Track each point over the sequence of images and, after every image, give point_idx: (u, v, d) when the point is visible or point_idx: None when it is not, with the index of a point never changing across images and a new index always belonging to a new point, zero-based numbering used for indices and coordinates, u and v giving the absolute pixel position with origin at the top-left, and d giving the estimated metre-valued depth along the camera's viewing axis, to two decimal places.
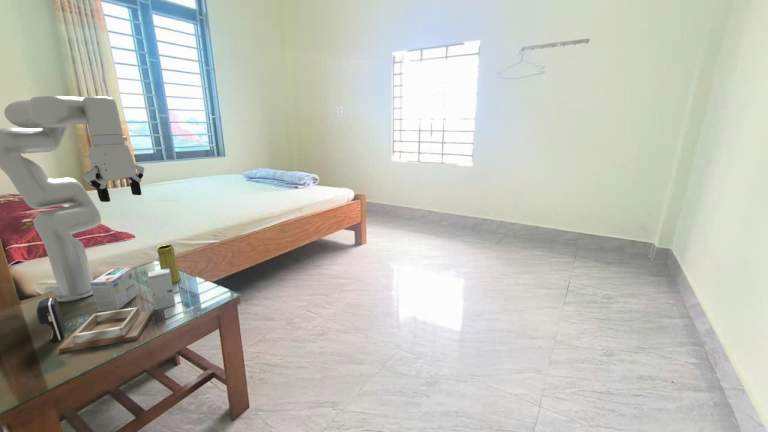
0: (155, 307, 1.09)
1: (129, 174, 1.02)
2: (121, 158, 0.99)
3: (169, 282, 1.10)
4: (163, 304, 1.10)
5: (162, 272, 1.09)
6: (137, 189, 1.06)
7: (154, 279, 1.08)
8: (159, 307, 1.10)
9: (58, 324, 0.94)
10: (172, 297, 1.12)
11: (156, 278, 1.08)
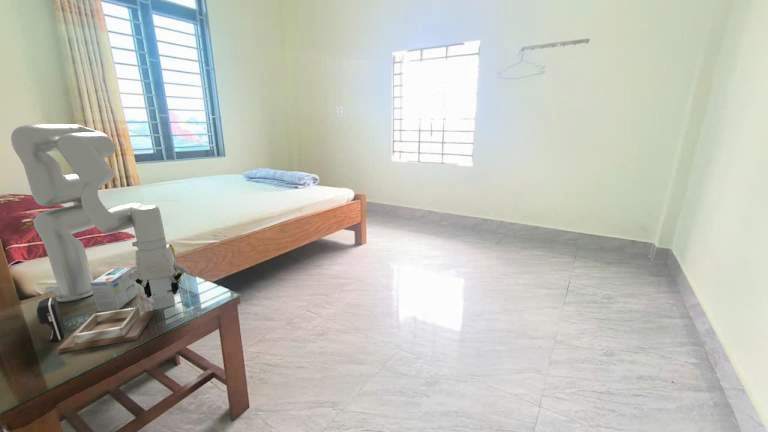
0: (155, 307, 1.09)
1: None
2: None
3: (169, 282, 1.10)
4: (163, 304, 1.10)
5: None
6: None
7: (154, 279, 1.08)
8: (159, 307, 1.10)
9: (58, 324, 0.94)
10: (172, 297, 1.12)
11: None
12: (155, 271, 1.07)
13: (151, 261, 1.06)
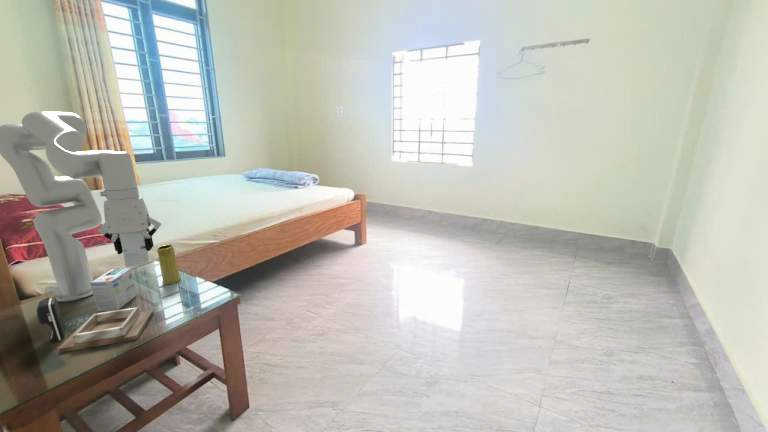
0: (127, 264, 1.01)
1: None
2: None
3: (142, 237, 1.01)
4: (135, 262, 1.02)
5: None
6: None
7: (126, 233, 0.99)
8: (131, 264, 1.01)
9: (58, 324, 0.94)
10: (146, 254, 1.03)
11: None
12: (126, 224, 0.98)
13: (122, 213, 0.97)
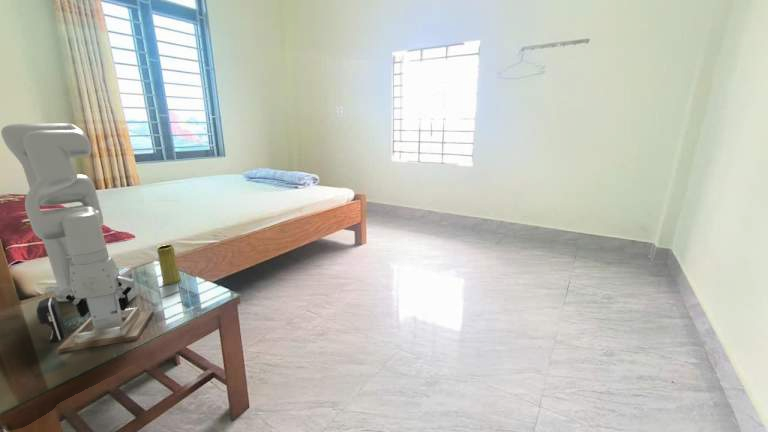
0: None
1: None
2: None
3: (113, 302, 0.96)
4: (106, 328, 0.96)
5: None
6: (87, 306, 0.96)
7: (95, 299, 0.93)
8: None
9: (58, 324, 0.94)
10: (117, 319, 0.97)
11: (96, 298, 0.94)
12: (94, 288, 0.92)
13: (89, 277, 0.91)
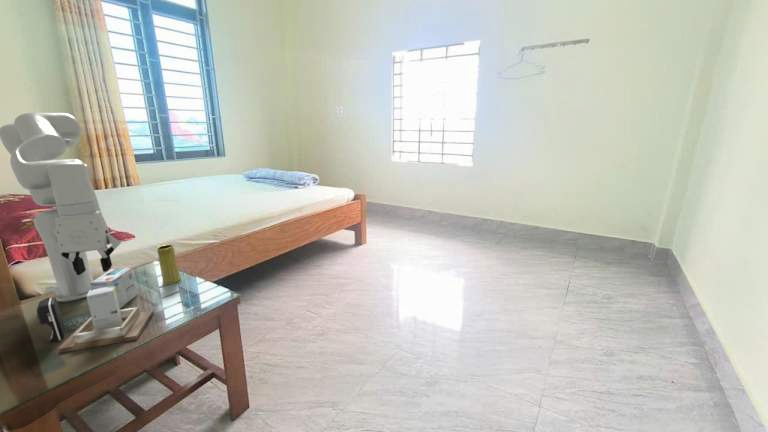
0: None
1: None
2: None
3: (113, 302, 0.96)
4: (106, 328, 0.96)
5: (104, 291, 0.95)
6: (83, 265, 0.93)
7: (95, 299, 0.93)
8: None
9: (58, 324, 0.94)
10: (117, 319, 0.97)
11: (96, 298, 0.94)
12: (81, 242, 0.88)
13: (76, 229, 0.87)
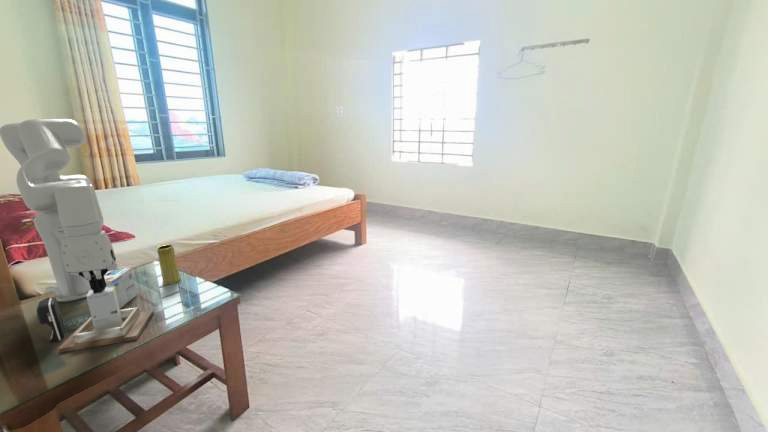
0: None
1: None
2: None
3: (113, 302, 0.96)
4: (106, 328, 0.96)
5: (104, 291, 0.95)
6: None
7: (95, 299, 0.93)
8: None
9: (58, 324, 0.94)
10: (117, 319, 0.97)
11: (96, 298, 0.94)
12: (86, 262, 0.90)
13: (81, 250, 0.89)
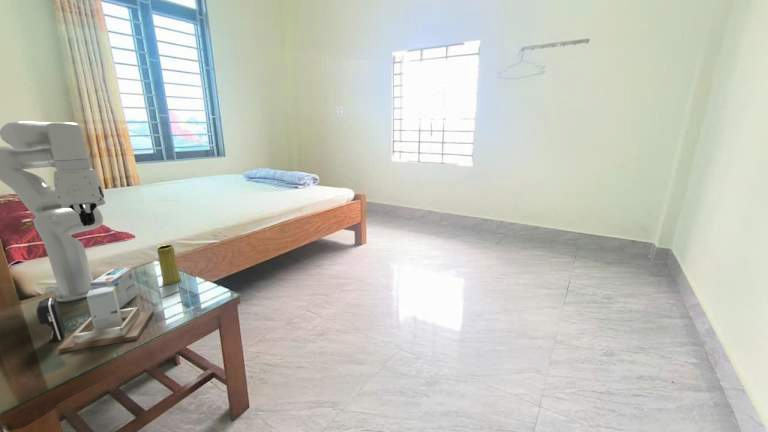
0: None
1: None
2: None
3: (113, 302, 0.96)
4: (106, 328, 0.96)
5: (104, 291, 0.95)
6: None
7: (95, 299, 0.93)
8: None
9: (58, 324, 0.94)
10: (117, 319, 0.97)
11: (96, 298, 0.94)
12: (76, 195, 0.99)
13: (72, 183, 0.98)
